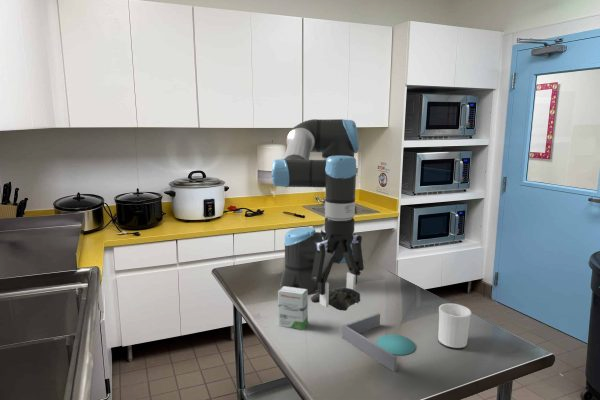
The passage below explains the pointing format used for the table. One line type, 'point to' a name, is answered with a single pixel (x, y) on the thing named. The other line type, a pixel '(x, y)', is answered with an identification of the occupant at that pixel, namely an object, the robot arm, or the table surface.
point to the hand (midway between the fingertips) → (337, 300)
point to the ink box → (293, 307)
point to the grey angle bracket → (378, 353)
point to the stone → (340, 298)
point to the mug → (453, 325)
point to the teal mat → (396, 344)
